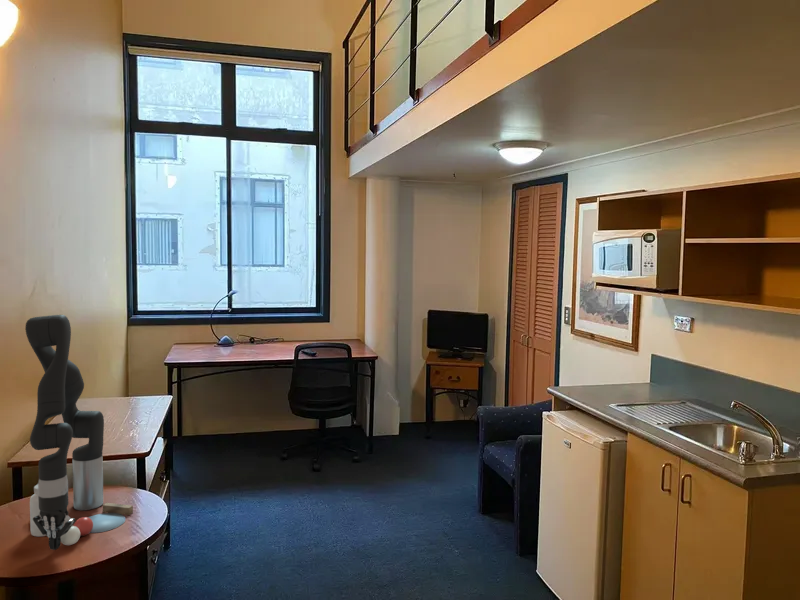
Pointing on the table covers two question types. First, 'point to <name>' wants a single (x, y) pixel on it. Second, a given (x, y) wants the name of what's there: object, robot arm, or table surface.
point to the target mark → (106, 522)
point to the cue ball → (71, 536)
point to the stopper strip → (117, 508)
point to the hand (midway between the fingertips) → (55, 548)
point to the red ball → (84, 525)
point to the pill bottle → (35, 513)
